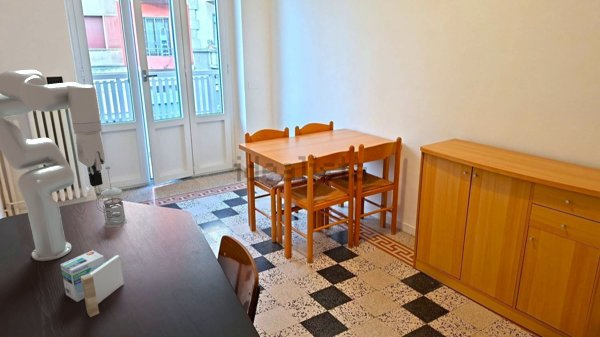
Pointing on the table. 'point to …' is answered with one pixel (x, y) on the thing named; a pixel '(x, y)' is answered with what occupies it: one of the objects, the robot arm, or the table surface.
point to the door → (107, 278)
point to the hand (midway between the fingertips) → (96, 184)
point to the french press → (116, 218)
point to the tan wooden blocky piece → (90, 295)
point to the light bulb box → (79, 272)
